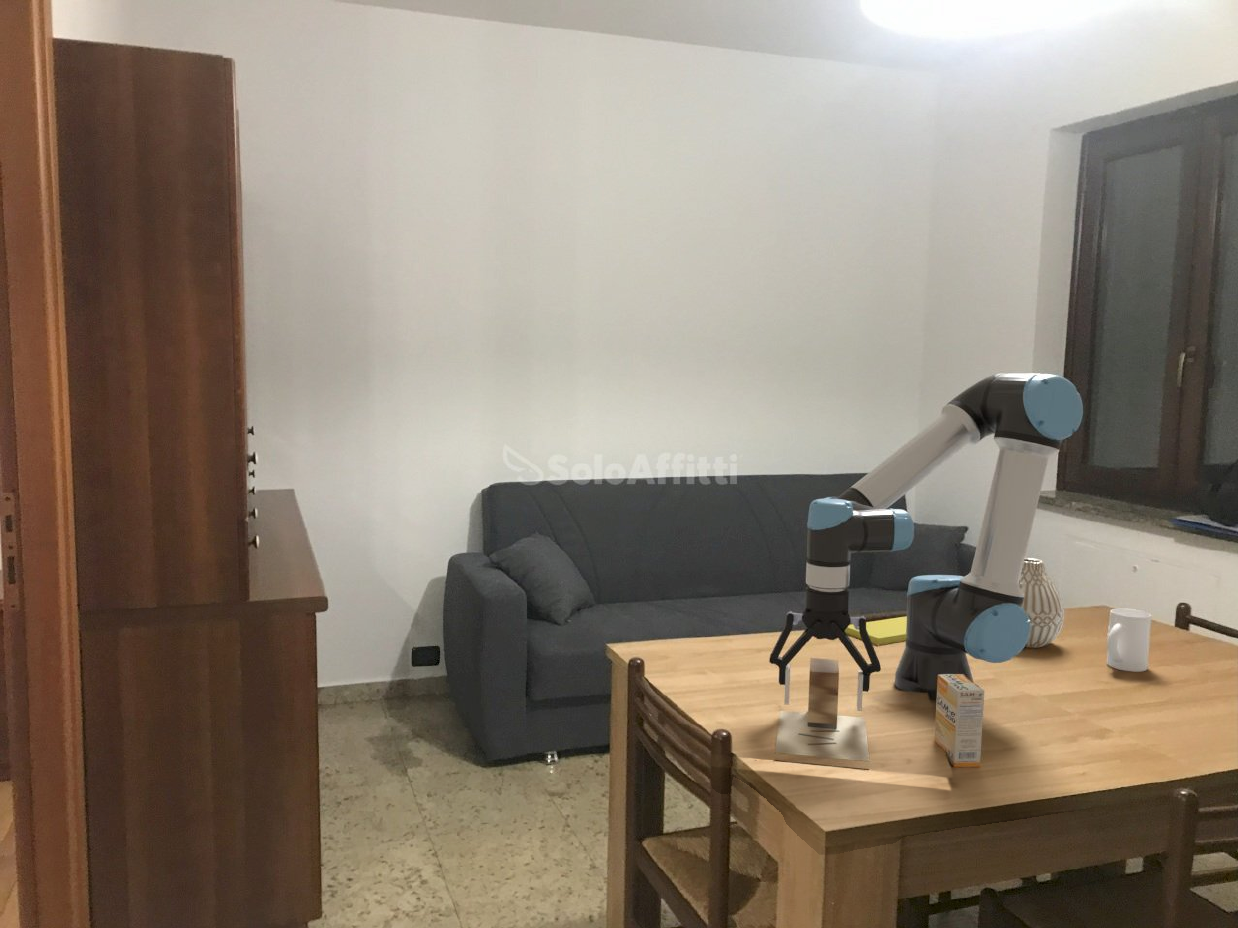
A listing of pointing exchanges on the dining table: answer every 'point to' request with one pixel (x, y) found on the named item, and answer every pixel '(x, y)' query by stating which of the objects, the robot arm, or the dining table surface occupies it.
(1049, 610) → the vase
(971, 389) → the robot arm
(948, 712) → the supplement box
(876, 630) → the yellow rectangular slab
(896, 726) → the dining table surface
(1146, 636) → the mug
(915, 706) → the dining table surface
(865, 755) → the board
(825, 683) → the block
